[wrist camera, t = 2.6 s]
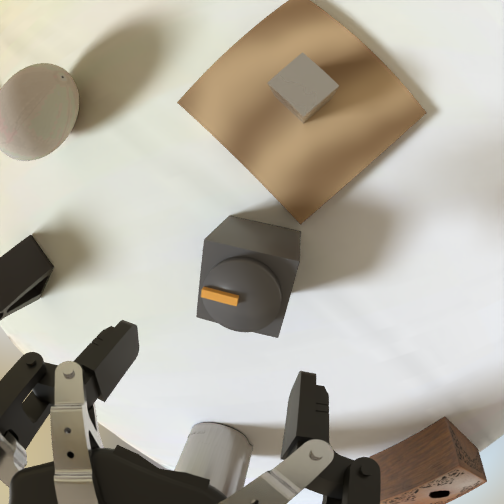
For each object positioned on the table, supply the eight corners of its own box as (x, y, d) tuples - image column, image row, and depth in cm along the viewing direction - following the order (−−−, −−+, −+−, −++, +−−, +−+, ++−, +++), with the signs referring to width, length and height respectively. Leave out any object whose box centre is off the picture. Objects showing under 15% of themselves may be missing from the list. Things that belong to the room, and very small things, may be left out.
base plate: (419, 114, 18) (426, 112, 17) (300, 219, 23) (300, 224, 22) (299, 0, 16) (299, -7, 15) (184, 104, 21) (177, 102, 20)
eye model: (111, 118, 23) (33, 117, 13) (56, 171, 26) (-12, 189, 16) (84, 51, 20) (16, 37, 11) (34, 108, 23) (-28, 112, 14)
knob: (300, 231, 23) (298, 270, 16) (284, 294, 26) (275, 349, 19) (229, 215, 24) (196, 246, 17) (219, 279, 26) (189, 327, 19)
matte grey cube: (331, 98, 18) (339, 85, 14) (303, 123, 19) (303, 116, 15) (302, 71, 17) (302, 52, 13) (274, 96, 19) (267, 82, 14)
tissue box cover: (477, 447, 32) (486, 481, 23) (422, 478, 38) (427, 511, 28) (444, 415, 29) (459, 465, 20) (369, 455, 35) (372, 503, 25)
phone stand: (32, 234, 30) (-33, 267, 19) (54, 266, 31) (-9, 308, 20) (19, 269, 33) (-33, 303, 22) (40, 298, 34) (-11, 337, 23)
